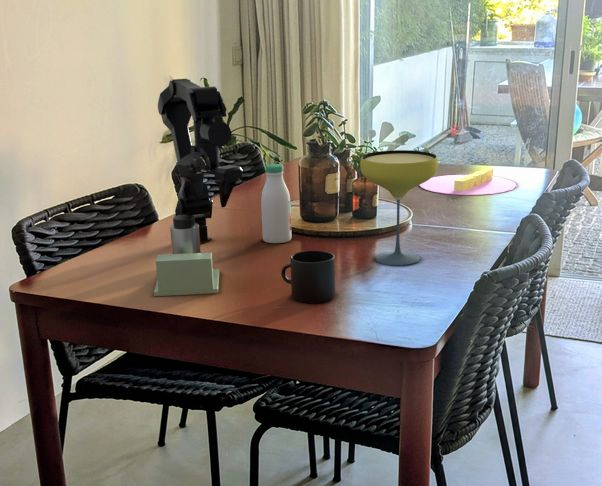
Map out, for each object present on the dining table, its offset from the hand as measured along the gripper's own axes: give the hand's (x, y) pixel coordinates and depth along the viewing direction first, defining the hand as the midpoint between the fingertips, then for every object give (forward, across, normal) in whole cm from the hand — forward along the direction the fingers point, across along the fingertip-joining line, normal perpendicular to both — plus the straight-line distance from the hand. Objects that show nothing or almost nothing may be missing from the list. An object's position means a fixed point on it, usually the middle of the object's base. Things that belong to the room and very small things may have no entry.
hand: (210, 204), depth 214 cm
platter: (+13, +6, +109) cm, 110 cm away
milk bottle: (+13, +3, +20) cm, 24 cm away
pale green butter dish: (+13, +13, -20) cm, 27 cm away
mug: (+13, +40, -9) cm, 43 cm away
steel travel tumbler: (+12, +11, -18) cm, 24 cm away
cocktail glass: (+13, +39, +25) cm, 48 cm away
